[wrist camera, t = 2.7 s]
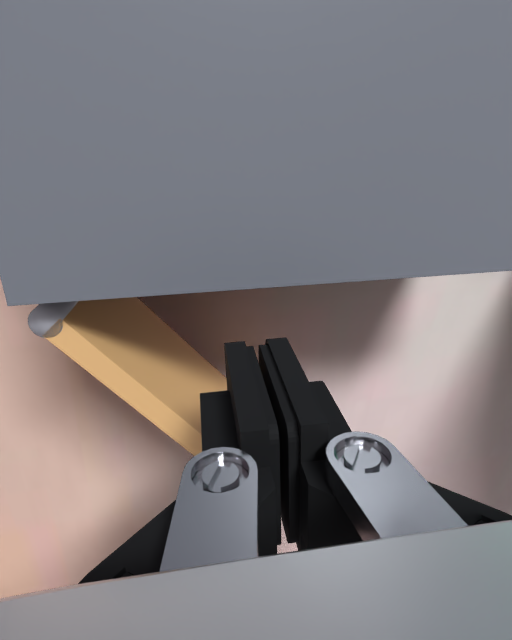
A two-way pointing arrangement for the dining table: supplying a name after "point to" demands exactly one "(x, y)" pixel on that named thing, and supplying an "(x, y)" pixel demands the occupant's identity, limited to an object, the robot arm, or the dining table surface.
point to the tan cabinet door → (134, 360)
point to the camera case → (250, 144)
